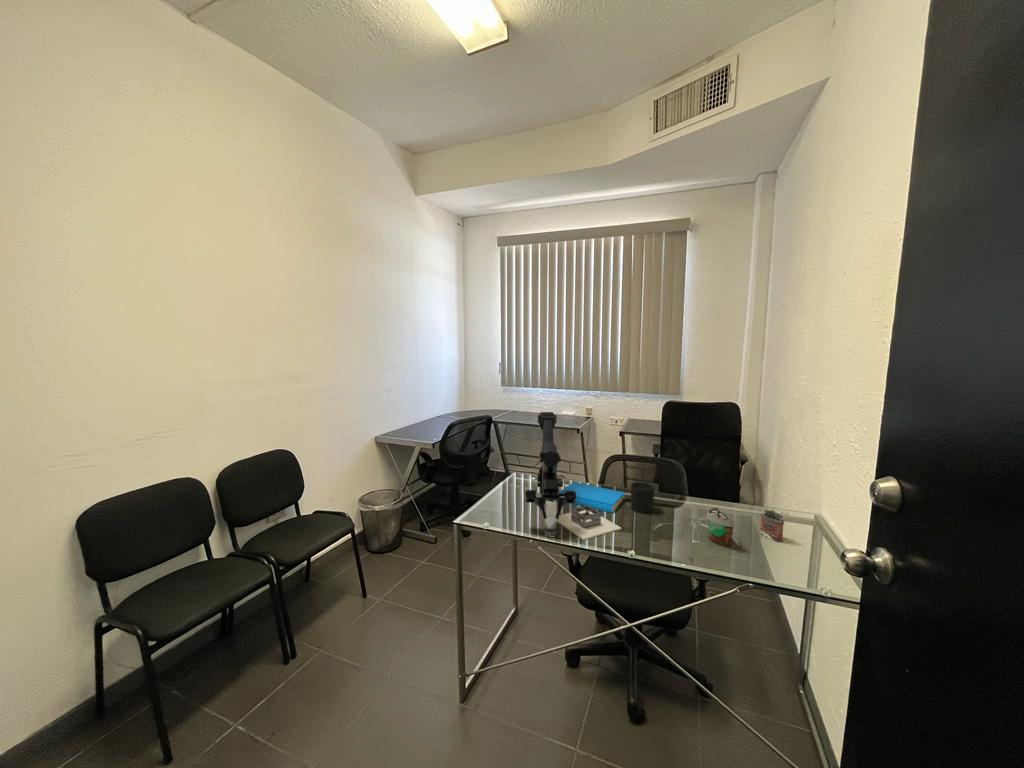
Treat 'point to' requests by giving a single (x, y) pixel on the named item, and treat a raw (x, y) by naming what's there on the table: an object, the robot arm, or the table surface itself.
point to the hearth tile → (587, 532)
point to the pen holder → (642, 497)
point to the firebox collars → (585, 516)
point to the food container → (719, 527)
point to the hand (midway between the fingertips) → (551, 519)
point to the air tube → (550, 517)
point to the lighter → (772, 525)
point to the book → (595, 496)
